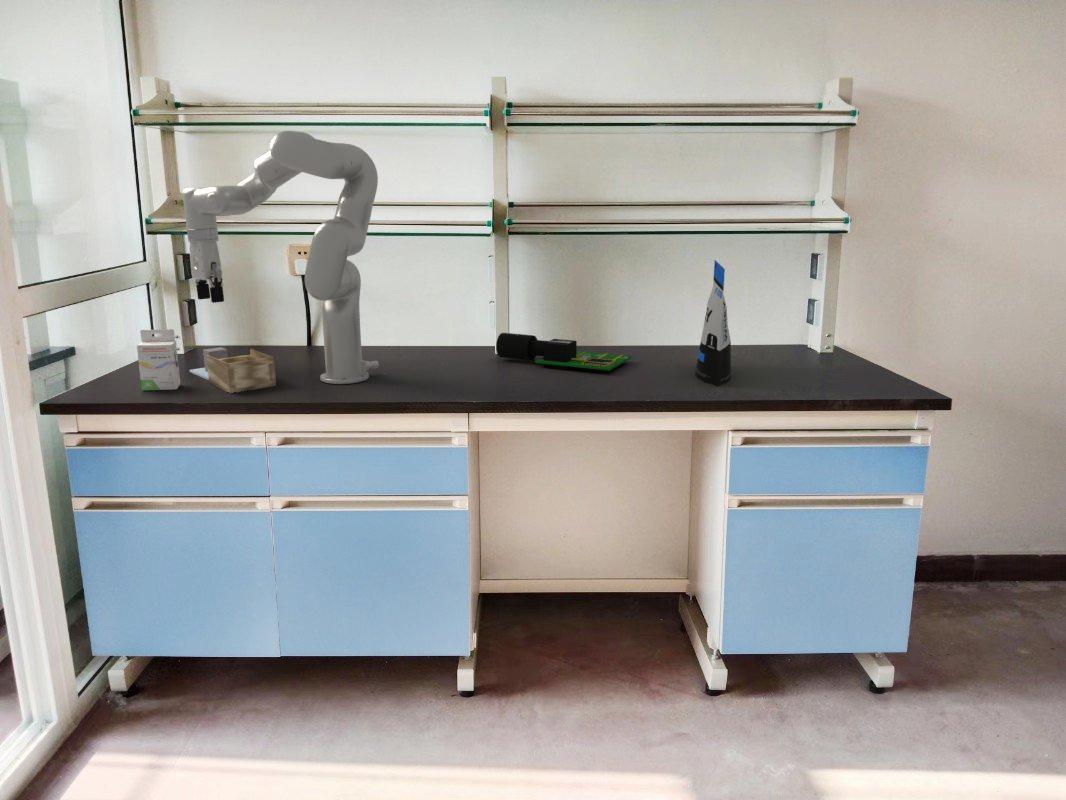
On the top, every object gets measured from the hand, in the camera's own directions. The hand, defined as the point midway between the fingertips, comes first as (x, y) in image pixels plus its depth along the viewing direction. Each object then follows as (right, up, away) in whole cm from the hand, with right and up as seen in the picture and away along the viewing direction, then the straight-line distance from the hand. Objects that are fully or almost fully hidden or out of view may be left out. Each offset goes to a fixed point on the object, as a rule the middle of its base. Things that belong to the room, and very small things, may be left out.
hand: (211, 300), depth 222 cm
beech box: (+11, -23, -8) cm, 27 cm away
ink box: (-8, -24, -11) cm, 28 cm away
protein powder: (+135, -20, +1) cm, 137 cm away
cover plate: (0, -20, +5) cm, 20 cm away
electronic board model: (+95, -16, +17) cm, 98 cm away
